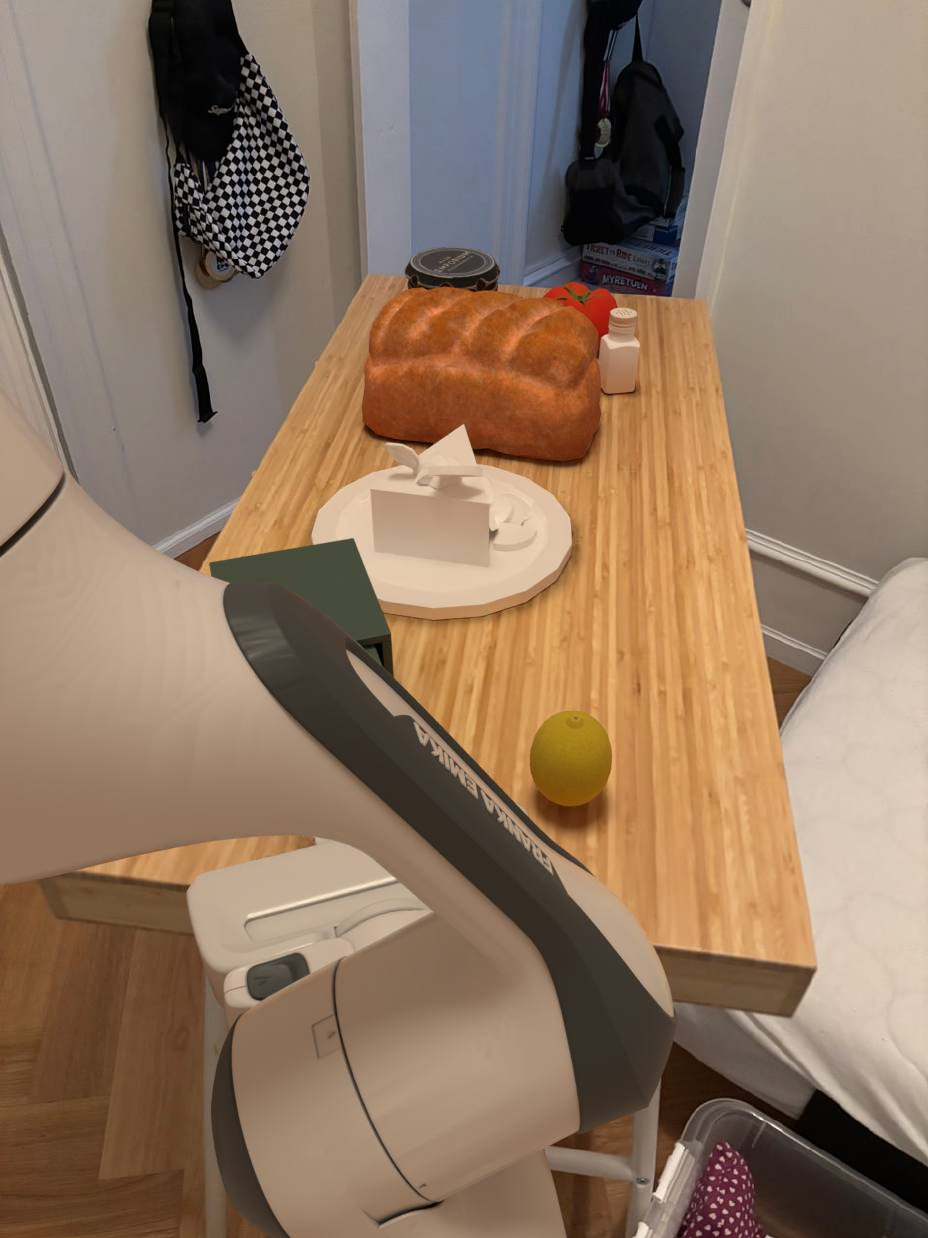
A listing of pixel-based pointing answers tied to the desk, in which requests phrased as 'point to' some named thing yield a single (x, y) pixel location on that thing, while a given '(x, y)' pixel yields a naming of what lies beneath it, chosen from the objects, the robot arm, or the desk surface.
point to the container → (453, 269)
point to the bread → (484, 372)
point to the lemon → (570, 758)
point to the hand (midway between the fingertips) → (344, 792)
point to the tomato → (587, 304)
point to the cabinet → (321, 587)
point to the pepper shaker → (619, 352)
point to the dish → (449, 532)
